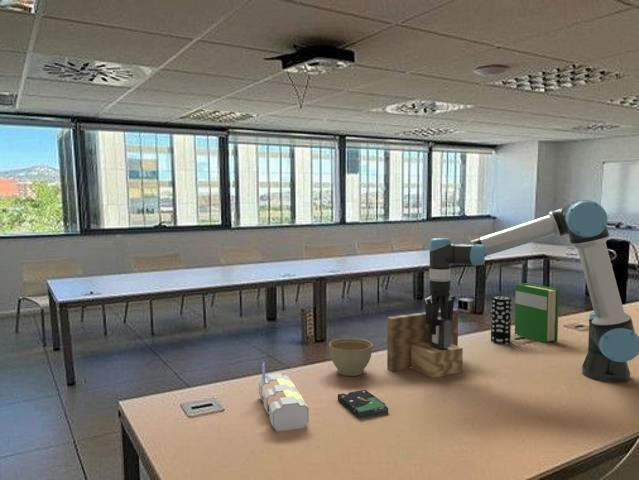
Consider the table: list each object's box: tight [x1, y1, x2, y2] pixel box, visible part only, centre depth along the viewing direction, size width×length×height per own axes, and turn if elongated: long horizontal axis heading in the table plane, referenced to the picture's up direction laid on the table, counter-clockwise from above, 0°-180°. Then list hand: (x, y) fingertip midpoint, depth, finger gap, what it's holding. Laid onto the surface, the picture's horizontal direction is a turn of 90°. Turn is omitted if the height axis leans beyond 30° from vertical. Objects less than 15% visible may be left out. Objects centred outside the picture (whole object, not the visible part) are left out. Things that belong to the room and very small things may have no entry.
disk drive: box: [337, 389, 389, 420], centre depth 153 cm, size 10×3×15 cm
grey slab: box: [428, 317, 451, 350], centre depth 184 cm, size 3×9×16 cm, turn 27°
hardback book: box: [514, 282, 560, 345], centre depth 227 cm, size 18×7×24 cm, turn 25°
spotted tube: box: [490, 295, 512, 345], centre depth 221 cm, size 8×8×20 cm
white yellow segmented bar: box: [258, 361, 310, 432], centre depth 149 cm, size 25×10×13 cm, turn 16°
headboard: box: [386, 308, 464, 379], centre depth 186 cm, size 32×16×20 cm, turn 117°
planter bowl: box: [328, 337, 373, 377], centre depth 183 cm, size 16×16×11 cm
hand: (439, 341), depth 184 cm, fingers closed on grey slab, 3 cm apart
